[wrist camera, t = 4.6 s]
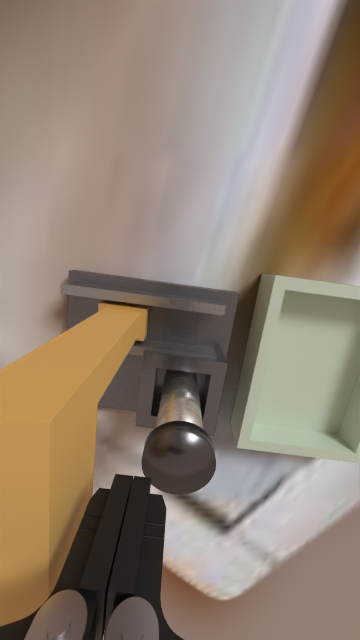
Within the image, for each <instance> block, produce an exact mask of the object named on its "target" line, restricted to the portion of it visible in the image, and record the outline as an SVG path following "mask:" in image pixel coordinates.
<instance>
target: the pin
mask: <svg viewBox="0 0 360 640" xmlns="http://www.w3.org/2000/svg"><path fill="white" fill-rule="evenodd" d="M215 469H216V459H215V453H214V447H213V443H212V440H211V438H210V436H209V435H208V434H207V432H206V431H205V430H203V425H202V416H201V408H200V399H199V391H198V383H197V376H196V374H195V373H194V372H187V371H179V370H171V369H168V370H167V372H166V373H165V376H164V382H163V388H162V394H161V400H160V406H159V412H158V418H157V425H156V428H155V429H154V430H153V431H152V432H151V433H150V434H149V436H148V438H147V439H146V442H145V446H144V451H143V456H142V470H143V473H144V475H145V477H147V478H151V484H152V485H153V486H154V487H156V488H157V489H159V490H161V491H164V492H166V493H170V494H188V493H192V492H195V491H197V490H199V489H201V488H203V487H204V486H205V485H206V484H207V483H208V482H209V481H210V480H211V478H212V477H213V475H214V472H215Z"/></svg>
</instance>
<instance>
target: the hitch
mask: <svg viewBox="0 0 360 640" xmlns="http://www.w3.org/2000/svg"><path fill="white" fill-rule="evenodd" d="M61 294H66V295H68V330H69V329H70V328H72V327H74V326H75V325H77V324H79V323H80V322H82V321H84V320H85V319H87V318H89V317H91V316H92V315H94V314H96V313H97V312H98V306H99V302H101V301H103V300H109V301H117V302H124V303H132V304H139V305H147V306H149V316H148V325H147V335H146V338H145V340H144V341H139V340H136V341H135V342H134V344H133V346H132V347H131V349H130V351H129V352H128V354H127V356H126V357H125V359H124V361H123V362H122V364H121V366H120V367H119V369H118V371H117V372H116V374H115V376H114V377H113V379H112V381H111V382H110V384H109V386H108V387H107V389H106V390H105V392H104V394H103V395H102V397H101V399H100V400H99V402H98V406H99V407H107V408H115V409H123V410H131V411H137V419H136V426H141V427H149V428H156V425H157V418H158V412H159V406H160V400H161V394H162V388H163V382H164V376H165V373H166V372H167V370H168V369H171V370H179V371H187V372H194V373H195V374H196V376H197V383H198V391H199V399H200V408H201V416H202V425H203V430H205V431H206V432H207V434H208V435H213V436H214V432H215V427H216V422H217V417H218V412H219V407H220V402H221V396H222V391H223V386H224V381H225V376H226V371H227V366H228V362H227V360H226V359H227V353H228V348H229V343H230V338H231V333H232V327H233V322H234V317H235V312H236V307H237V301H238V296H239V293H237V292H233V291H226V290H218V289H211V288H203V287H196V286H189V285H181V284H174V283H167V282H159V281H152V280H144V279H137V278H130V277H122V276H115V275H108V274H100V273H93V272H85V271H78V270H70V271H69V282H68V283H63V284H61Z"/></svg>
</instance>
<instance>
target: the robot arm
mask: <svg viewBox="0 0 360 640" xmlns="http://www.w3.org/2000/svg"><path fill="white" fill-rule="evenodd" d="M150 486H151V478H147V477H138V476H134V479H133V476H129V475H120V474H116V475H115V477H114V480H113V483H112V486H111V489H104V488H99V489H98V490H97V492H96V493H95V494H94V495H93V496H92V497H91V499H90V500H89V502H88V505H87V507H86V510H85V512H84V515H83V518H82V520H81V523H80V525H79V528H78V531H77V533H76V535H75V538H74V540H73V543H72V545H71V548H70V550H69V553H68V556H67V558H66V561H65V563H64V566H63V568H62V571H61V573H60V576H59V578H58V581H57V583H56V585H55V588H54V589H53V591H52V593H51V594H50V596H49V597H48V599H47V600H46V601H45V602H44V603H43V604H42V605H41V606H40V607H39V608H38V609H37V610H36V611H35V612H33V613H32V614H31V615H29V616H27V617H25V618H23V619H21V620H18V621H15V622H12V623H9V624H6V625H3V626H0V640H103V635H104V640H183V639H182V638H180V637H179V636H178V635H176V634H175V633H174V632H173V631H172V630H171V629H170V627H169V626H168V624H167V622H166V620H165V619H164V615H163V612H162V608H161V601H160V592H161V577H162V576H161V575H162V563H163V549H164V534H165V520H166V506H165V503H164V500H163V496H162V495H157V494H150ZM104 630H105V633H104Z"/></svg>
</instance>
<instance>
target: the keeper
mask: <svg viewBox="0 0 360 640" xmlns="http://www.w3.org/2000/svg"><path fill="white" fill-rule="evenodd" d="M148 316H149V306H147V305H139V304H132V303H124V302H117V301H109V300H103V301H101V302H99V306H98V312H97V313H96V314H94V315H92V316H91V317H89V318H87V319H85V320H84V321H82V322H80V323H79V324H77V325H75V326H74V327H72V328H70V329H69V330H67V331H65V332H64V333H62V334H60V335H59V336H57V337H55V338H54V339H52V340H50V341H48V342H47V343H45V344H43V345H42V346H40V347H38V348H37V349H35V350H33V351H32V352H30V353H28V354H27V355H25V356H23V357H22V358H20V359H18V360H16V361H15V362H13V363H11V364H10V365H8V366H6V367H5V368H3V369H1V370H0V626H3V625H6V624H9V623H12V622H15V621H18V620H21V619H23V618H25V617H27V616H29V615H31V614H32V613H33V612H35V611H36V610H37V609H38V608H39V607H40V606H41V605H42V604H43V603H44V602H45V601H46V600H47V599H48V597H49V596H50V594H51V593H52V591H53V589H54V588H55V585H56V583H57V581H58V578H59V576H60V573H61V571H62V568H63V566H64V563H65V561H66V558H67V556H68V553H69V550H70V548H71V545H72V543H73V540H74V538H75V535H76V533H77V531H78V528H79V525H80V523H81V520H82V518H83V515H84V512H85V510H86V507H87V505H88V502H89V500H90V499H91V497H92V492H93V476H94V459H95V442H96V425H97V408H98V402H99V400H100V399H101V397H102V395H103V394H104V392H105V390H106V389H107V387H108V386H109V384H110V382H111V381H112V379H113V377H114V376H115V374H116V372H117V371H118V369H119V367H120V366H121V364H122V362H123V361H124V359H125V357H126V356H127V354H128V352H129V351H130V349H131V347H132V346H133V344H134V342H135V341H136V340H139V341H144V340H145V338H146V335H147V325H148Z"/></svg>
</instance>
